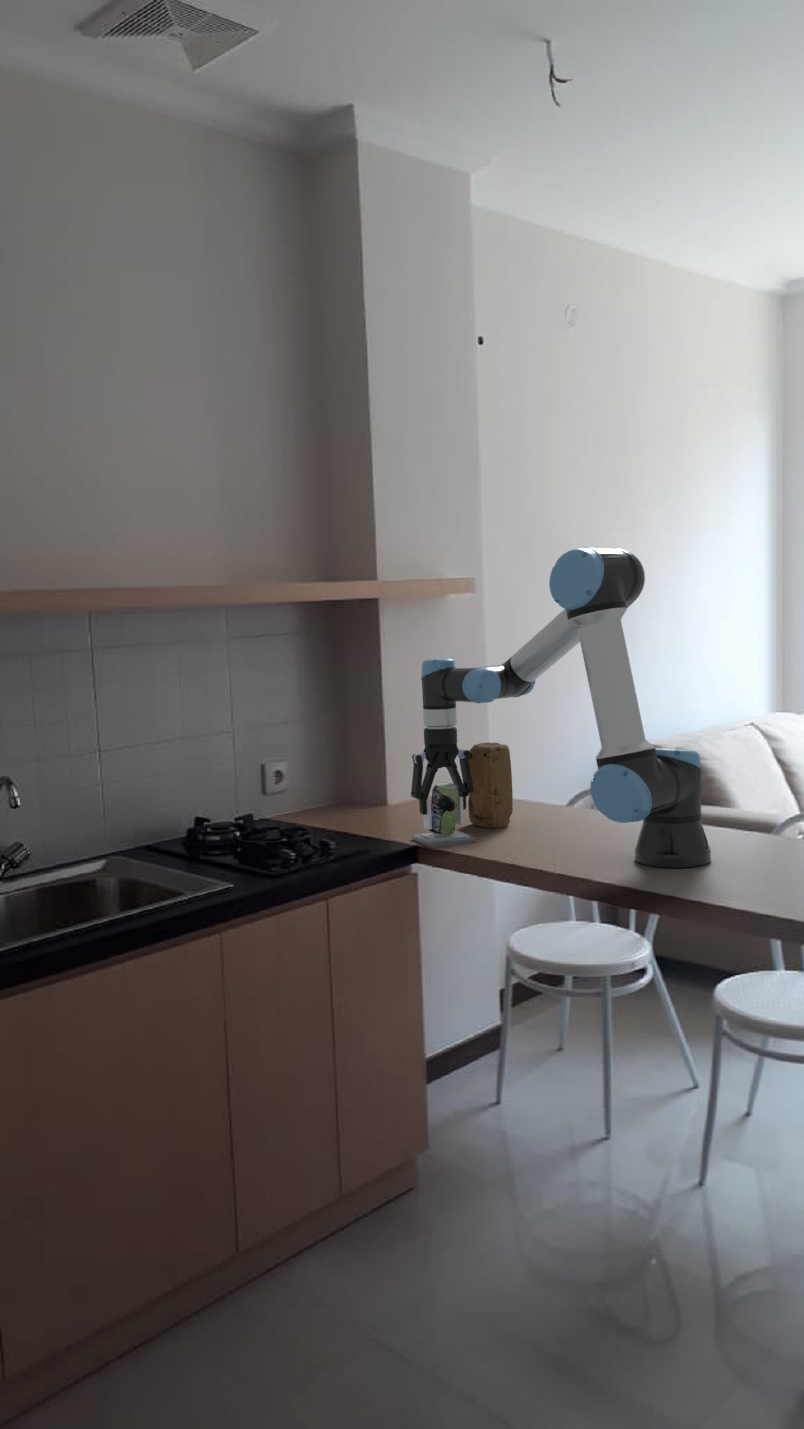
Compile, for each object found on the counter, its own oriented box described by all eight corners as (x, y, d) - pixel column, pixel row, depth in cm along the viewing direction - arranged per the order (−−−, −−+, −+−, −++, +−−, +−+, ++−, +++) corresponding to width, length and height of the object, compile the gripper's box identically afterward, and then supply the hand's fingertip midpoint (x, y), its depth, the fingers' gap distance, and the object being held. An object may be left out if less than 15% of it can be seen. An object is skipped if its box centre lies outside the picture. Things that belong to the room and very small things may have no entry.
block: (516, 826, 272) (514, 743, 270) (493, 831, 268) (490, 747, 266) (486, 820, 281) (483, 740, 279) (463, 825, 276) (460, 743, 274)
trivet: (476, 841, 256) (476, 836, 256) (433, 848, 252) (433, 842, 252) (454, 833, 266) (454, 828, 266) (412, 839, 262) (411, 833, 261)
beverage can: (433, 831, 263) (431, 780, 262) (463, 832, 261) (461, 781, 259) (424, 837, 257) (422, 785, 256) (456, 838, 255) (454, 785, 254)
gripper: (471, 721, 264) (475, 818, 266) (392, 729, 255) (396, 828, 258) (487, 724, 257) (490, 823, 259) (406, 731, 249) (410, 834, 251)
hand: (443, 826), depth 259 cm, fingers open, 7 cm apart
